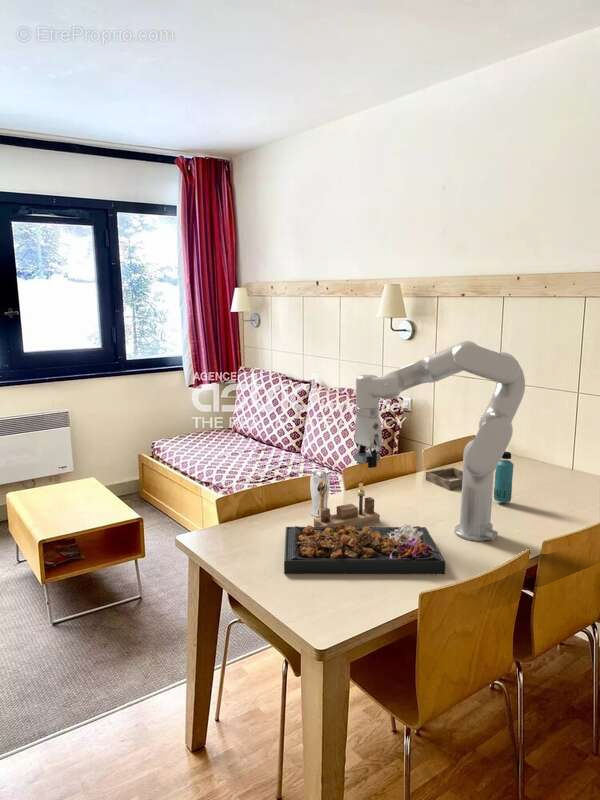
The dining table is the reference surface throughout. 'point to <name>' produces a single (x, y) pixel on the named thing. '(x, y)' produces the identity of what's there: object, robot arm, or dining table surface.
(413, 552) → the food platter
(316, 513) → the beer glass
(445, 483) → the square wooden tray
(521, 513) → the dining table surface
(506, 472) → the beverage bottle
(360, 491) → the lever
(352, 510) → the wooden post stand
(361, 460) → the grey rectangular block
